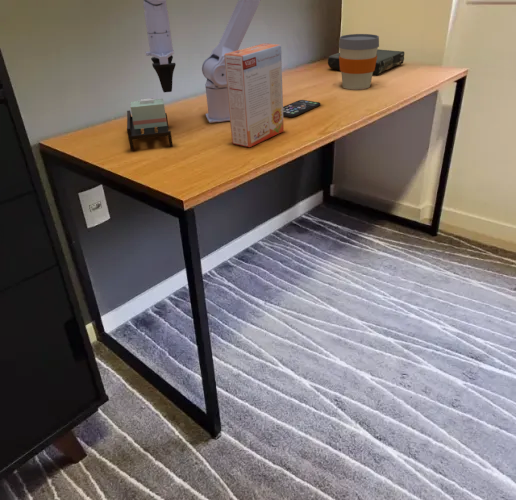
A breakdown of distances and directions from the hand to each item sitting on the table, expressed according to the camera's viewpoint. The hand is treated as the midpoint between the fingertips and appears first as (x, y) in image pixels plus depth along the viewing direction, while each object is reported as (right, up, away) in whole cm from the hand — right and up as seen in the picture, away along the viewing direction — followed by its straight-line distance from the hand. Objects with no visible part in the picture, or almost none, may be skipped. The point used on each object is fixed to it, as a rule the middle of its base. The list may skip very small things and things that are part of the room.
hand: (166, 88), depth 128 cm
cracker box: (+24, -15, -6) cm, 29 cm away
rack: (-3, -14, -3) cm, 15 cm away
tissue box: (-3, -11, -5) cm, 12 cm away
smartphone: (+35, -2, +13) cm, 37 cm away
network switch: (+64, +26, +56) cm, 89 cm away
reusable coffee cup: (+56, +11, +33) cm, 66 cm away
